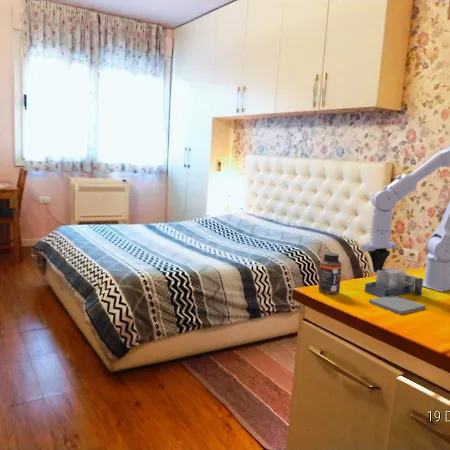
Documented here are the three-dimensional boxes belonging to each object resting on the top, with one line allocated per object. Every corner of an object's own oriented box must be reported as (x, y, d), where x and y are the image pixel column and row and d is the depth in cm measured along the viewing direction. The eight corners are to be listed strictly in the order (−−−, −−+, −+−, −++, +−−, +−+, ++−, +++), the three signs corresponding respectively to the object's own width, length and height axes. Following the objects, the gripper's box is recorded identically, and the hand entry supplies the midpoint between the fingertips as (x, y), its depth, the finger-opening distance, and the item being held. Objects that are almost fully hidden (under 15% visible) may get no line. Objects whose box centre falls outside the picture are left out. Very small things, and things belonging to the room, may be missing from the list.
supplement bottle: (339, 296, 125) (342, 256, 123) (318, 294, 126) (321, 255, 124) (338, 290, 130) (341, 252, 129) (318, 288, 131) (320, 250, 130)
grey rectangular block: (391, 280, 133) (392, 267, 133) (404, 284, 129) (405, 271, 129) (375, 283, 130) (377, 270, 129) (388, 287, 126) (389, 273, 125)
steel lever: (374, 279, 143) (375, 264, 142) (422, 294, 128) (424, 278, 127) (369, 279, 142) (371, 265, 141) (418, 295, 127) (420, 279, 126)
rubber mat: (392, 297, 125) (393, 295, 125) (425, 308, 116) (425, 305, 116) (368, 302, 119) (369, 299, 119) (400, 314, 111) (400, 311, 111)
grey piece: (393, 286, 136) (394, 278, 136) (413, 292, 130) (414, 284, 130) (364, 291, 129) (365, 283, 129) (384, 298, 124) (385, 290, 123)
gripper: (385, 226, 144) (381, 267, 146) (354, 228, 136) (351, 271, 138) (404, 230, 138) (400, 272, 140) (373, 232, 130) (369, 277, 132)
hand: (377, 272), depth 139 cm, fingers closed
